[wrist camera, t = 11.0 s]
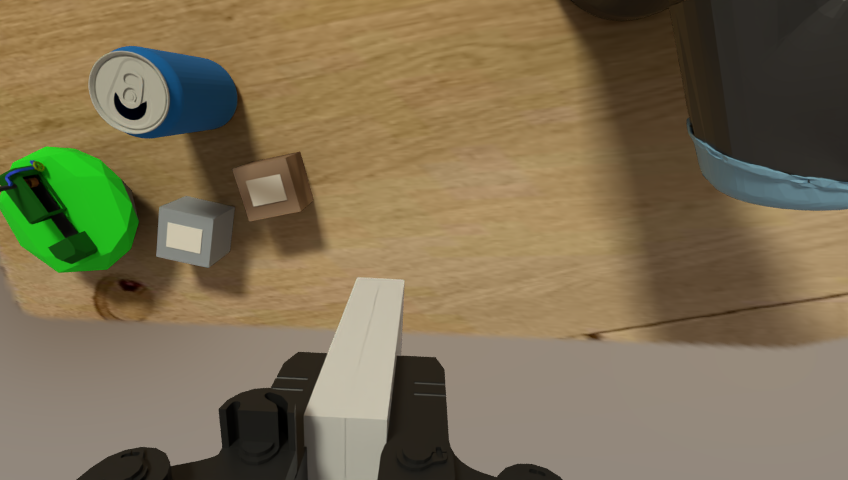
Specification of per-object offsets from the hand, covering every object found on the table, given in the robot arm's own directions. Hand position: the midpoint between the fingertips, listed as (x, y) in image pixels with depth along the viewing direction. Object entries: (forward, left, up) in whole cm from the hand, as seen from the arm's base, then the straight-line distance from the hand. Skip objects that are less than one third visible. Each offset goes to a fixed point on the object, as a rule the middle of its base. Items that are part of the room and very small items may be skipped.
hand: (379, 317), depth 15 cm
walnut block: (+2, -13, -33) cm, 35 cm away
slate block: (+7, -21, -33) cm, 39 cm away
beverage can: (-6, -20, -33) cm, 39 cm away
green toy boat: (+5, -32, -33) cm, 46 cm away
